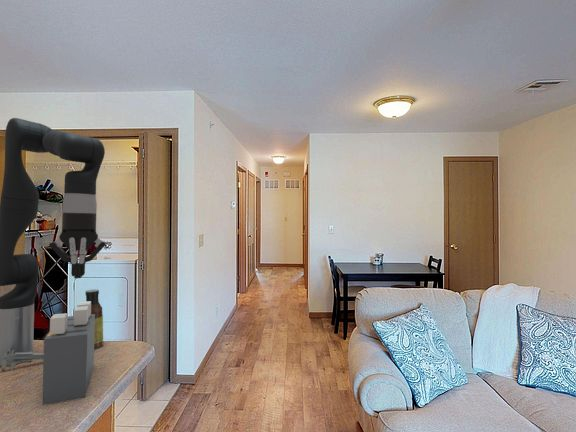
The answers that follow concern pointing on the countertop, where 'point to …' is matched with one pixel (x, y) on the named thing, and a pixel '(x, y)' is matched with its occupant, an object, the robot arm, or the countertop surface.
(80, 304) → the tab back
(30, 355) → the caliper
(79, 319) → the tab middle
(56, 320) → the tab front
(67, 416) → the countertop surface
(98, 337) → the sauce bottle
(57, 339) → the switch box
